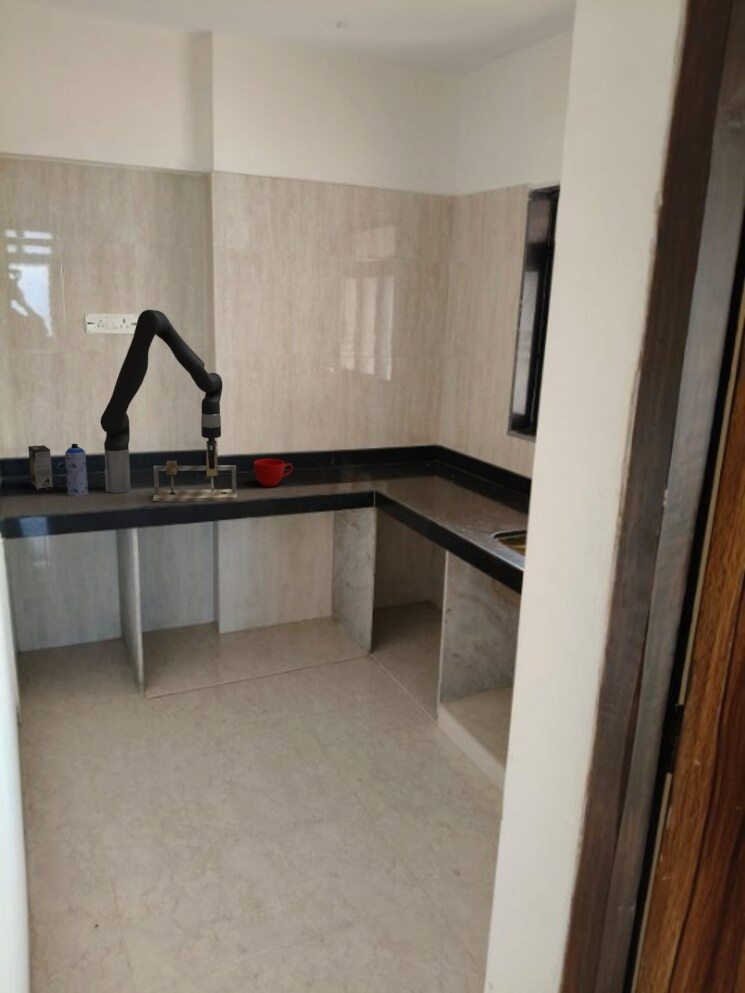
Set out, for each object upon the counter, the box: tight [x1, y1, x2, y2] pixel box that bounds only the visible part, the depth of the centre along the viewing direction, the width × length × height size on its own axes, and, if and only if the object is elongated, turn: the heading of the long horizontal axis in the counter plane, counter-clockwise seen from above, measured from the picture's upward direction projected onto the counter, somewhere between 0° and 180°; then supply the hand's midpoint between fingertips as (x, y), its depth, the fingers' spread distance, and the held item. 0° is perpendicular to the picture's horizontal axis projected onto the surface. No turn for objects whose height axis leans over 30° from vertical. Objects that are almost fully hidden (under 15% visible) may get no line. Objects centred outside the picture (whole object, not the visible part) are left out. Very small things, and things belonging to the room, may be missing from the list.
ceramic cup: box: [253, 458, 294, 487], centre depth 321 cm, size 13×17×10 cm
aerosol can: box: [64, 443, 89, 496], centre depth 294 cm, size 8×8×20 cm
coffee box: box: [28, 445, 54, 490], centre depth 303 cm, size 9×6×16 cm
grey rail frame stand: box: [152, 460, 238, 503], centre depth 296 cm, size 32×12×14 cm, turn 101°
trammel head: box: [205, 451, 218, 492], centre depth 297 cm, size 4×5×16 cm
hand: (211, 467), depth 296 cm, fingers closed on trammel head, 5 cm apart
